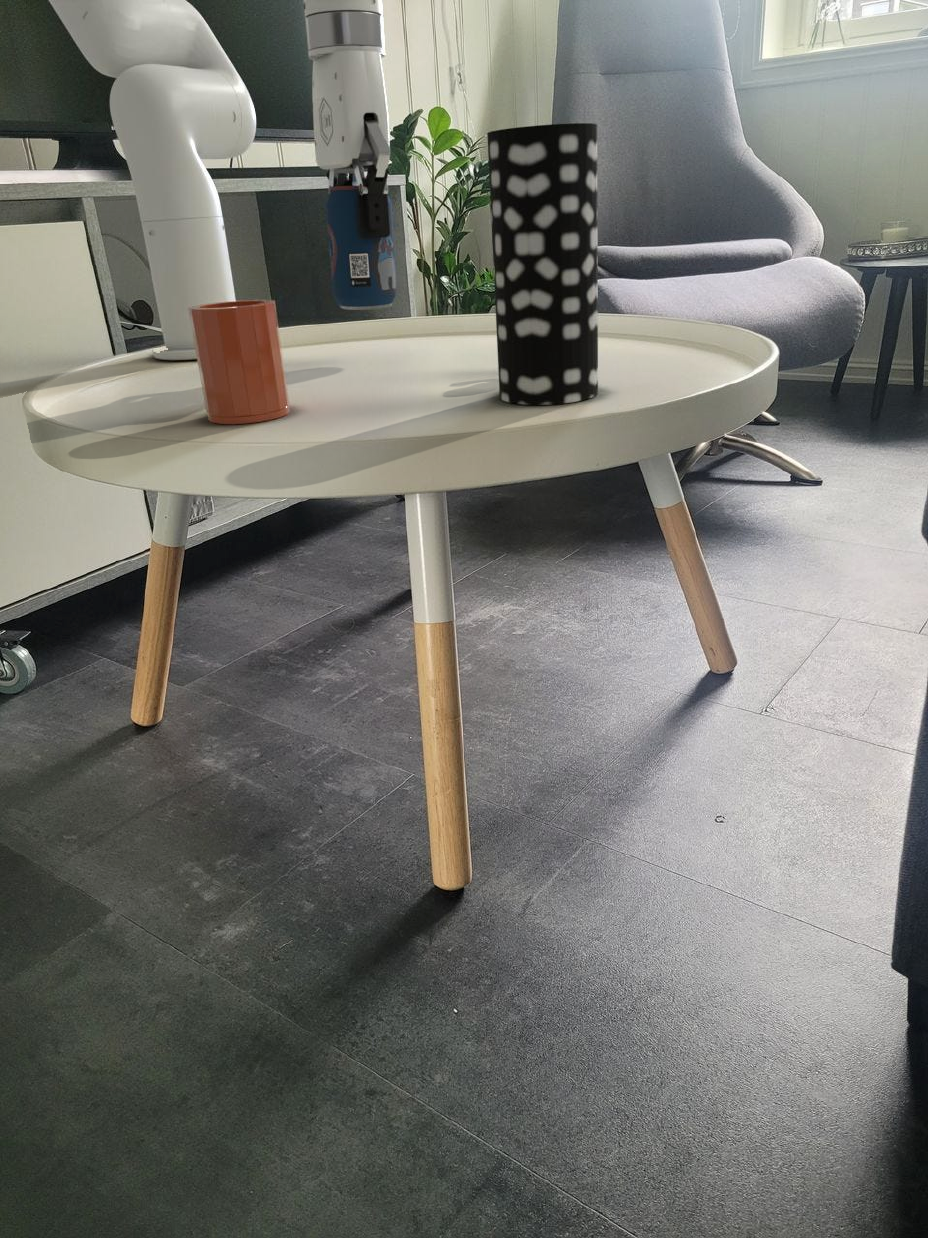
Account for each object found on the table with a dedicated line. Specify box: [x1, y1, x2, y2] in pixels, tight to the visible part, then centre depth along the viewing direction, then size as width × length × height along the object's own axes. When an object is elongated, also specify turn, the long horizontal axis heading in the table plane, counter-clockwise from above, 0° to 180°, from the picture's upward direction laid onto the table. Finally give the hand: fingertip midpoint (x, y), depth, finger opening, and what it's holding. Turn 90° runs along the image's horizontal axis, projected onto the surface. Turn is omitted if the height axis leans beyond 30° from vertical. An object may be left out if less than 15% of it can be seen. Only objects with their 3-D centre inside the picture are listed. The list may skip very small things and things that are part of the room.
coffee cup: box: [188, 299, 290, 425], centre depth 76 cm, size 7×7×9 cm
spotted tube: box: [487, 122, 599, 406], centre depth 74 cm, size 8×8×20 cm
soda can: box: [325, 185, 398, 311], centre depth 98 cm, size 7×7×12 cm
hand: (361, 235), depth 97 cm, fingers closed on soda can, 7 cm apart
